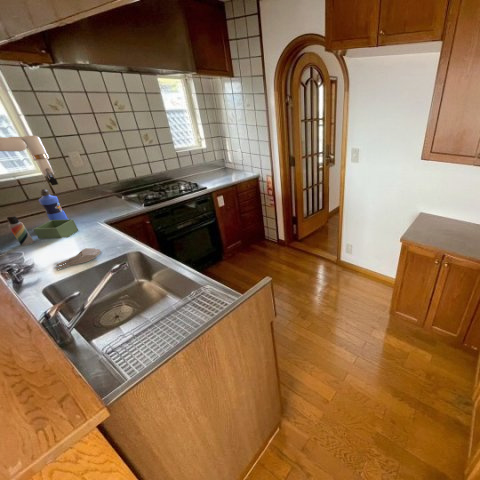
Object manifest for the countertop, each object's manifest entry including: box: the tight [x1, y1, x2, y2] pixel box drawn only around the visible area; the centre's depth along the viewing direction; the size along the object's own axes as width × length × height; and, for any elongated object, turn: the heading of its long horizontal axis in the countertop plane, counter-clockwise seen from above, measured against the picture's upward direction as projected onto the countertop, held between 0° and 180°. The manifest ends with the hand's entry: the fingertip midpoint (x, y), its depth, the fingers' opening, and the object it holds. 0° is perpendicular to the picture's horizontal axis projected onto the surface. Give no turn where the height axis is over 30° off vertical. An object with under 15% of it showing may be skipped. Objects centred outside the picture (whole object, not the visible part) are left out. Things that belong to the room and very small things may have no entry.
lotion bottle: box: [5, 214, 35, 247], centre depth 155 cm, size 6×6×20 cm
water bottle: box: [38, 189, 69, 221], centre depth 183 cm, size 9×9×25 cm
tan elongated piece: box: [55, 247, 101, 271], centre depth 142 cm, size 10×20×5 cm, turn 133°
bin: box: [32, 218, 79, 240], centre depth 169 cm, size 14×14×9 cm
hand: (53, 183), depth 173 cm, fingers open, 9 cm apart
